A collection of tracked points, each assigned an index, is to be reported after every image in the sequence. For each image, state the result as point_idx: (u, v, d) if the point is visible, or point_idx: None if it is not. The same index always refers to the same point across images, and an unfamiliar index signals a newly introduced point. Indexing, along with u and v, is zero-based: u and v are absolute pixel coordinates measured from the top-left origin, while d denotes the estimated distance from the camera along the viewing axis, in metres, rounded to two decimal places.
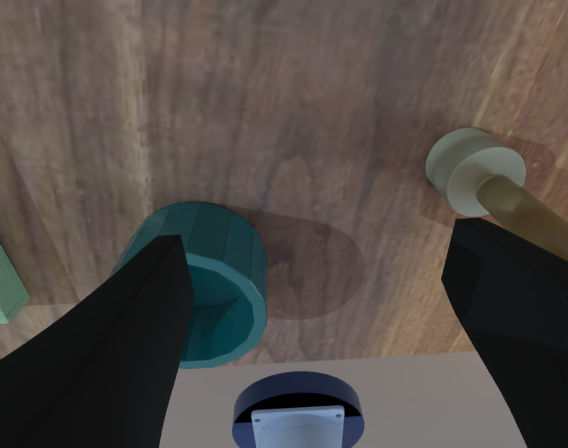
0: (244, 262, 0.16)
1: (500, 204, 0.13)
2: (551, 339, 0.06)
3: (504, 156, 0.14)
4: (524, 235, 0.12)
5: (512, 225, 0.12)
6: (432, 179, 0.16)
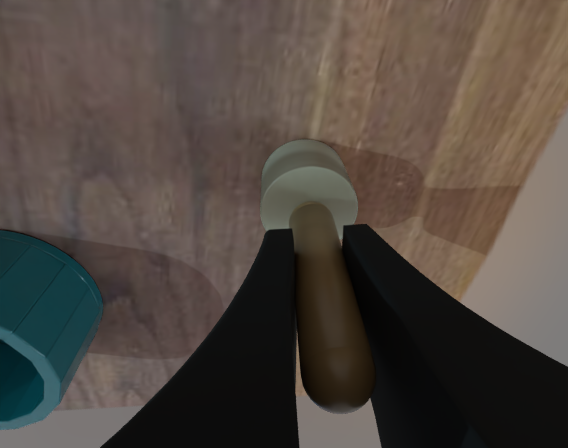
0: (17, 309, 0.12)
1: None
2: (388, 348, 0.06)
3: (322, 178, 0.11)
4: None
5: None
6: None
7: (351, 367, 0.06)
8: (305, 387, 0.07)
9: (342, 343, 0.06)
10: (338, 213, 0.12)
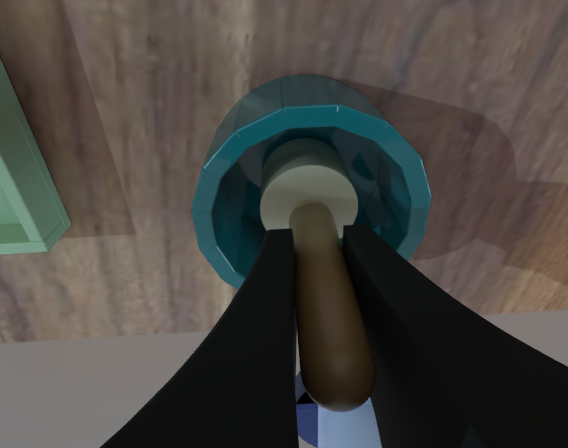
0: None
1: None
2: (388, 348, 0.06)
3: (322, 177, 0.11)
4: None
5: None
6: None
7: (351, 365, 0.06)
8: (305, 385, 0.07)
9: (342, 341, 0.06)
10: (338, 212, 0.12)
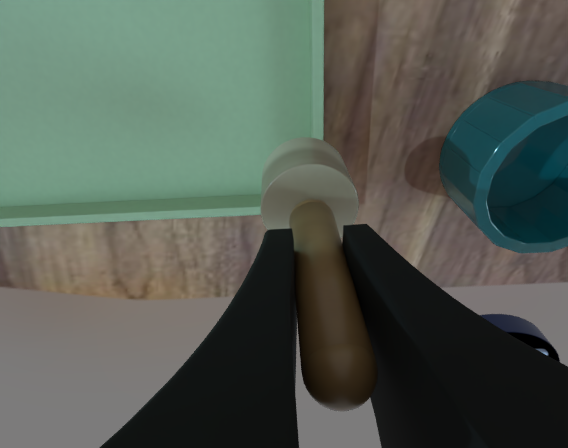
0: None
1: None
2: (388, 348, 0.06)
3: (322, 176, 0.11)
4: None
5: None
6: None
7: (352, 364, 0.06)
8: (306, 384, 0.06)
9: (343, 340, 0.06)
10: (339, 211, 0.12)
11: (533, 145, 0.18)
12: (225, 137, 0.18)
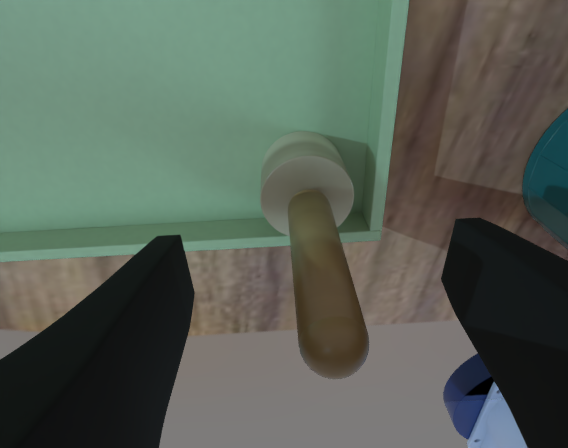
0: None
1: (291, 229, 0.10)
2: (551, 339, 0.06)
3: (319, 167, 0.12)
4: None
5: (291, 257, 0.10)
6: None
7: (345, 334, 0.07)
8: (303, 354, 0.07)
9: (337, 313, 0.07)
10: (335, 201, 0.12)
11: None
12: (255, 145, 0.14)
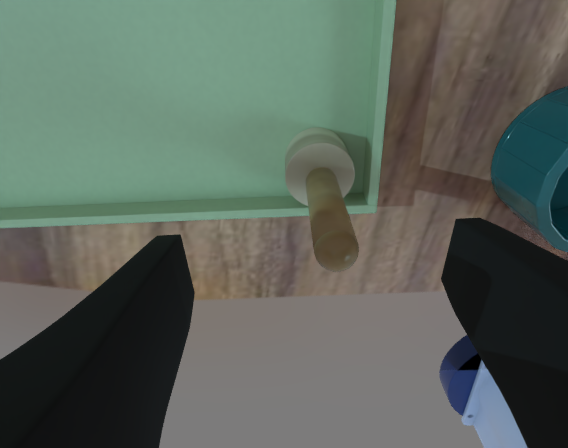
0: None
1: (308, 191, 0.15)
2: (551, 339, 0.06)
3: (329, 151, 0.16)
4: None
5: (309, 209, 0.14)
6: None
7: (343, 239, 0.11)
8: (316, 255, 0.11)
9: (338, 229, 0.11)
10: (340, 178, 0.17)
11: None
12: (281, 137, 0.18)
